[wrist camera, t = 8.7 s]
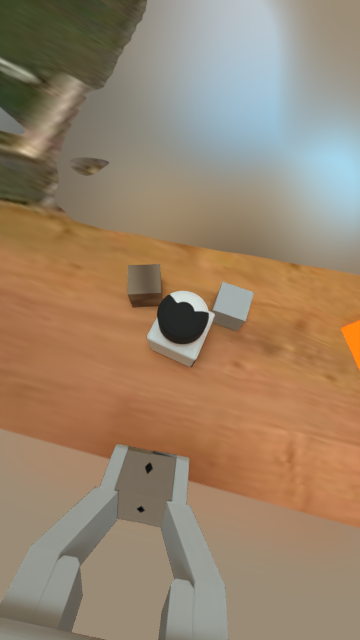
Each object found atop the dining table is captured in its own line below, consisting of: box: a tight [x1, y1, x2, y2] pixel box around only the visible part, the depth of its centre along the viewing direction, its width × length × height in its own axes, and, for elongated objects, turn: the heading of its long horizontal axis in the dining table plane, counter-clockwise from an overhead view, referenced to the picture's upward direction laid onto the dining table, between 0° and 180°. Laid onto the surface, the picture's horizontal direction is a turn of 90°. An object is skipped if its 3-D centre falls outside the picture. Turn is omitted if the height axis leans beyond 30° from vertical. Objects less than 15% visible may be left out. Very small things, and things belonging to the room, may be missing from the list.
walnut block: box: [128, 264, 162, 307], centre depth 37 cm, size 5×5×5 cm
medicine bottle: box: [147, 291, 215, 367], centre depth 31 cm, size 7×7×12 cm
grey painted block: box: [211, 282, 254, 331], centre depth 37 cm, size 5×5×5 cm
